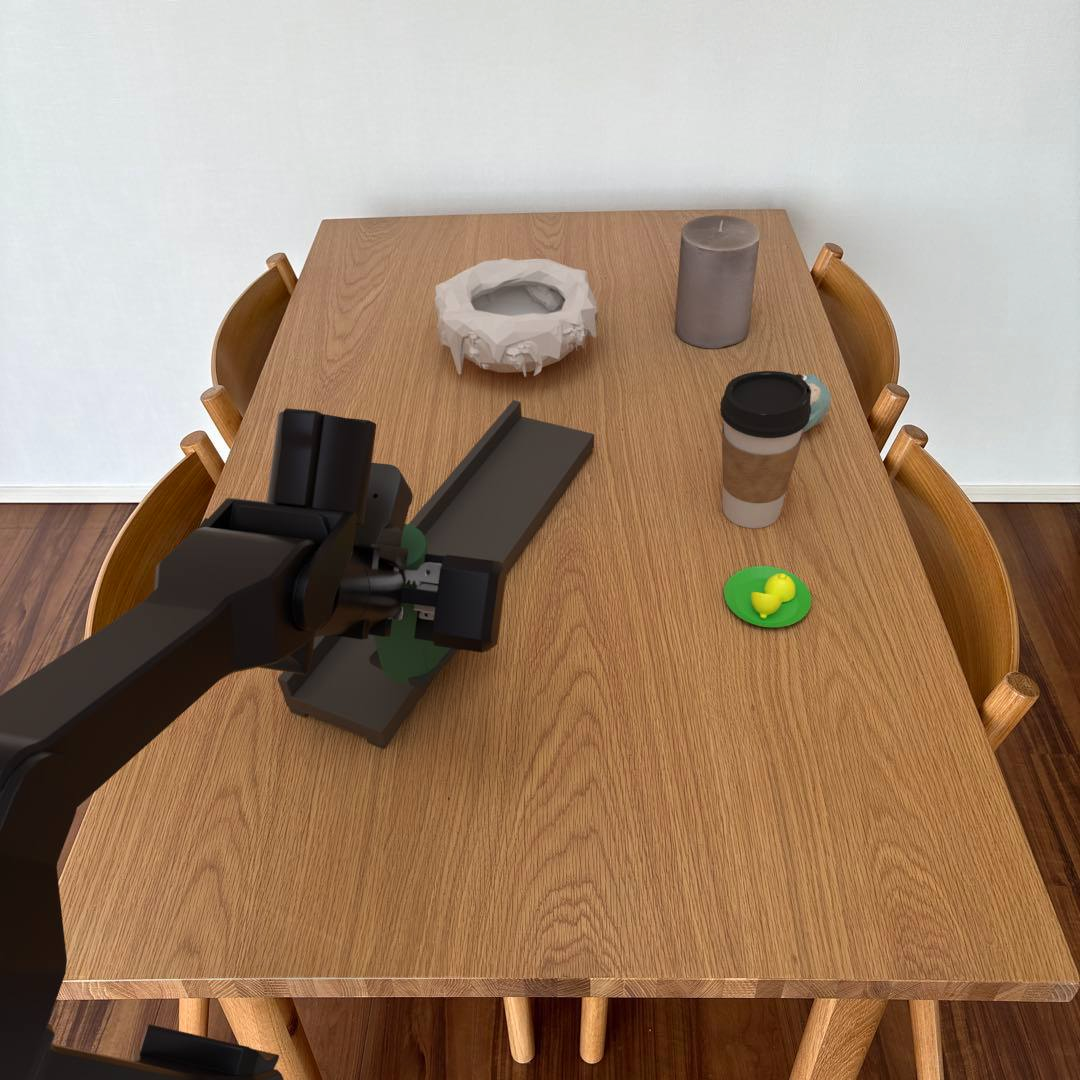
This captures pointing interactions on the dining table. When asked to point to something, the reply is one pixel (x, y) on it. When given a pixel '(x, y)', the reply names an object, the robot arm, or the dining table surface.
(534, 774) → the dining table surface
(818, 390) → the stuffed animal
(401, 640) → the green cylinder on block
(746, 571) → the green flat round tray
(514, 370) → the bowl
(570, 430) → the shoe shelf
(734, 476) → the coffee cup
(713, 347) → the pillar candle
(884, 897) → the dining table surface
